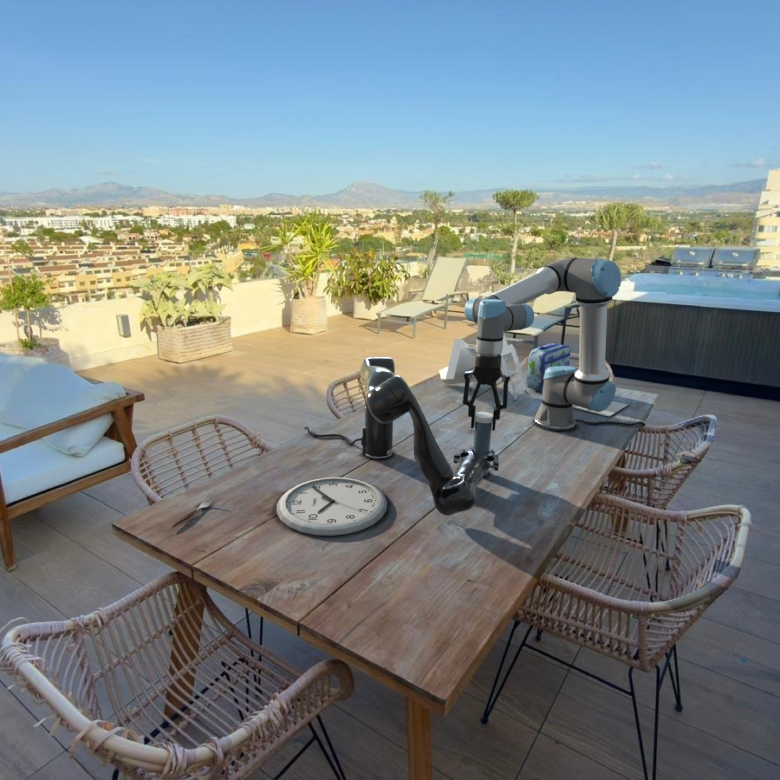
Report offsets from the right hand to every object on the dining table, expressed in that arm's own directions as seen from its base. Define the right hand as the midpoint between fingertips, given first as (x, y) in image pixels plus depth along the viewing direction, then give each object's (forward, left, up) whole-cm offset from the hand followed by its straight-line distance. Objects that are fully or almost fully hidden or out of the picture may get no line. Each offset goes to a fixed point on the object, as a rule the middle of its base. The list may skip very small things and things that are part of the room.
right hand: (483, 427), depth 159 cm
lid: (0, 0, +4) cm, 4 cm away
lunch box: (-36, -98, -15) cm, 105 cm away
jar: (0, 0, -15) cm, 15 cm away
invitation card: (-55, -73, -15) cm, 93 cm away
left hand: (-1, -3, -9) cm, 9 cm away
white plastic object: (-4, -85, -15) cm, 86 cm away
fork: (+76, +36, -15) cm, 85 cm away
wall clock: (+41, +26, -15) cm, 51 cm away
